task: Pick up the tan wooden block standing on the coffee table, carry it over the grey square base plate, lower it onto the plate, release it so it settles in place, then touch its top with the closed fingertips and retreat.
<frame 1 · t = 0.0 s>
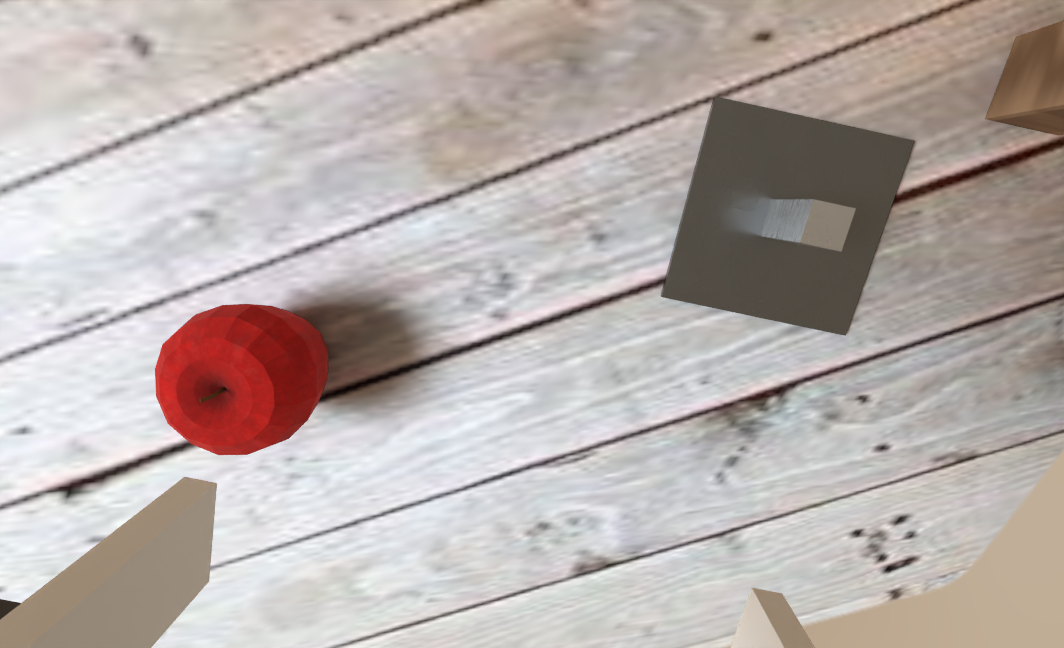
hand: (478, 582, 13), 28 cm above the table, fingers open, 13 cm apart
apple: (291, 349, 41), on the table
grey square base plate: (781, 221, 38), on the table
tan wooden block: (1037, 86, 36), on the table
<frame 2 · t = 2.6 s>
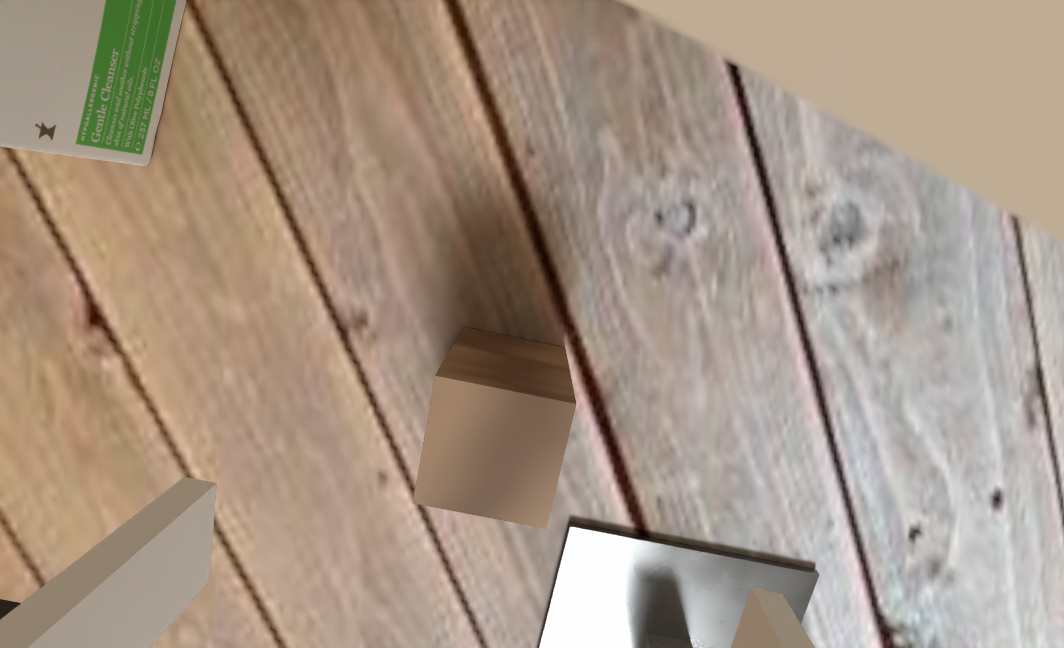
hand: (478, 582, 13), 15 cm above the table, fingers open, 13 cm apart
skincare box: (104, 54, 24), on the table
tan wooden block: (504, 385, 27), on the table
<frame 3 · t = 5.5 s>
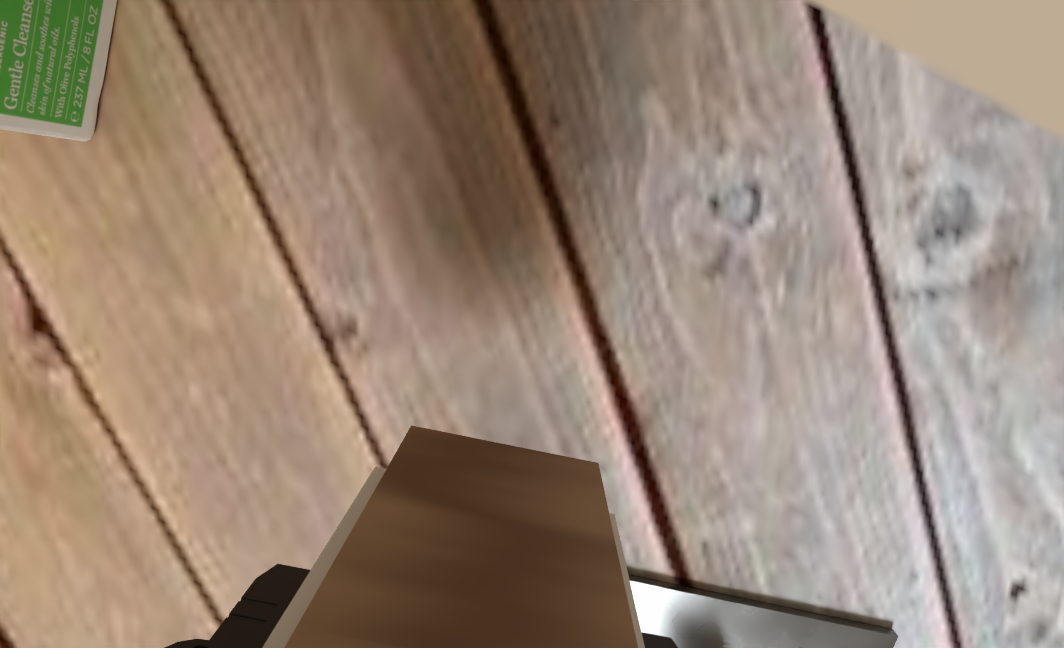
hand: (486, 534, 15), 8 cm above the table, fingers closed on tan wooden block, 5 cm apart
skincare box: (34, 3, 20), on the table
tan wooden block: (487, 526, 15), point 8 cm above the table, touching gripper
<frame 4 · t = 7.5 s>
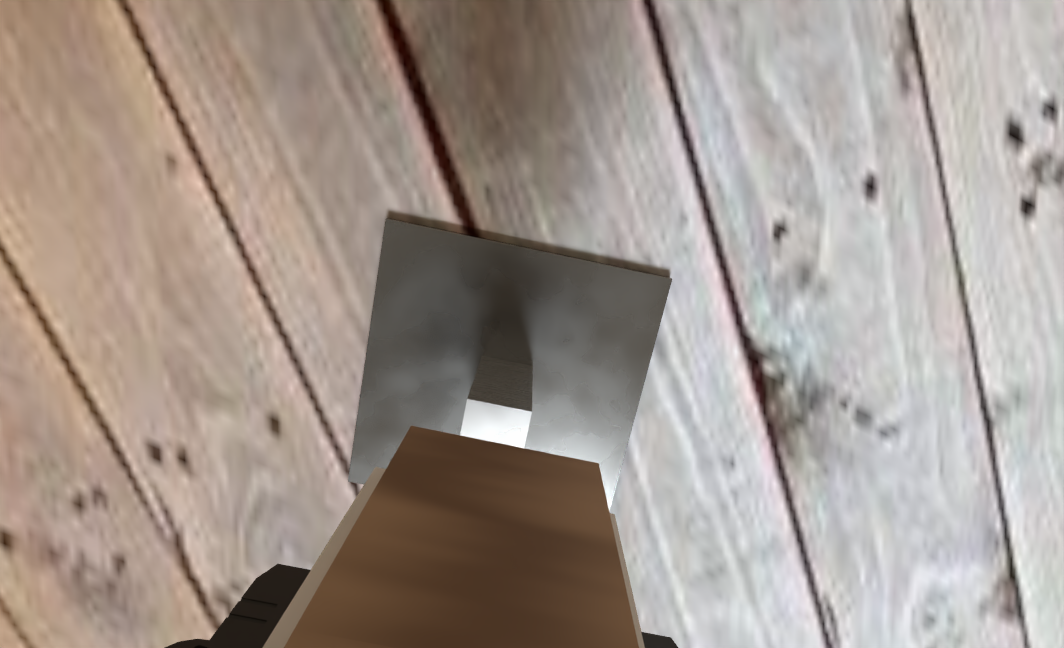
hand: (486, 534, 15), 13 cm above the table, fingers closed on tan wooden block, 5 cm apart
grey square base plate: (502, 382, 27), on the table
tan wooden block: (487, 527, 15), point 13 cm above the table, touching gripper
when the fingers open (1 cm above the table, at t = 9.6 s): tan wooden block stays where it is, resting on grey square base plate.
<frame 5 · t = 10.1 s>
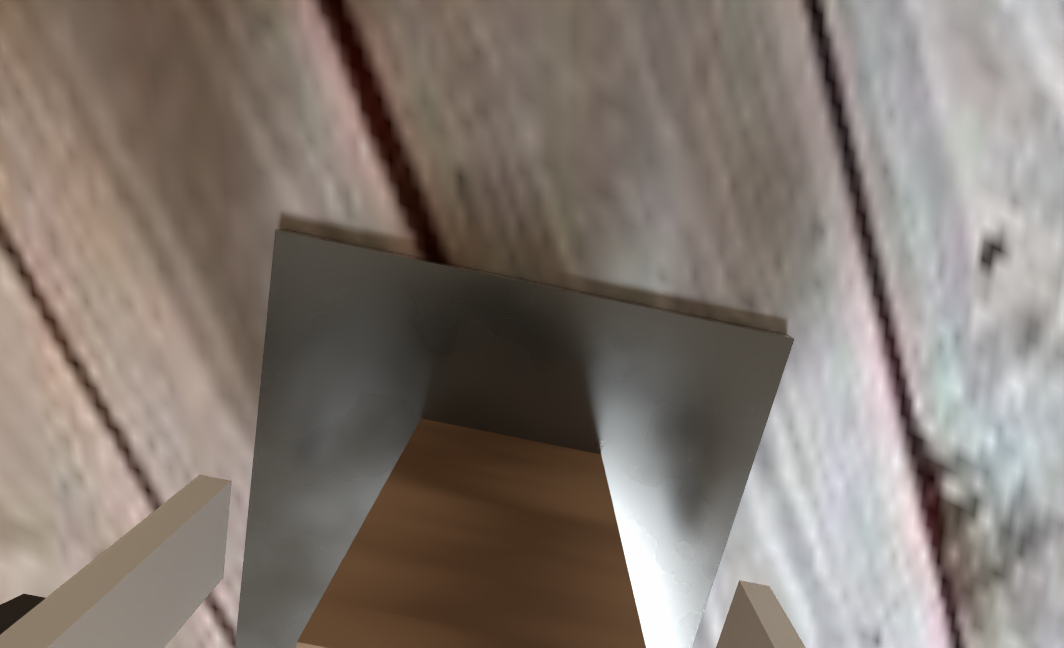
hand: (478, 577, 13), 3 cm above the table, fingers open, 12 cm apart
grey square base plate: (490, 508, 16), on the table
tan wooden block: (494, 516, 16), resting on grey square base plate
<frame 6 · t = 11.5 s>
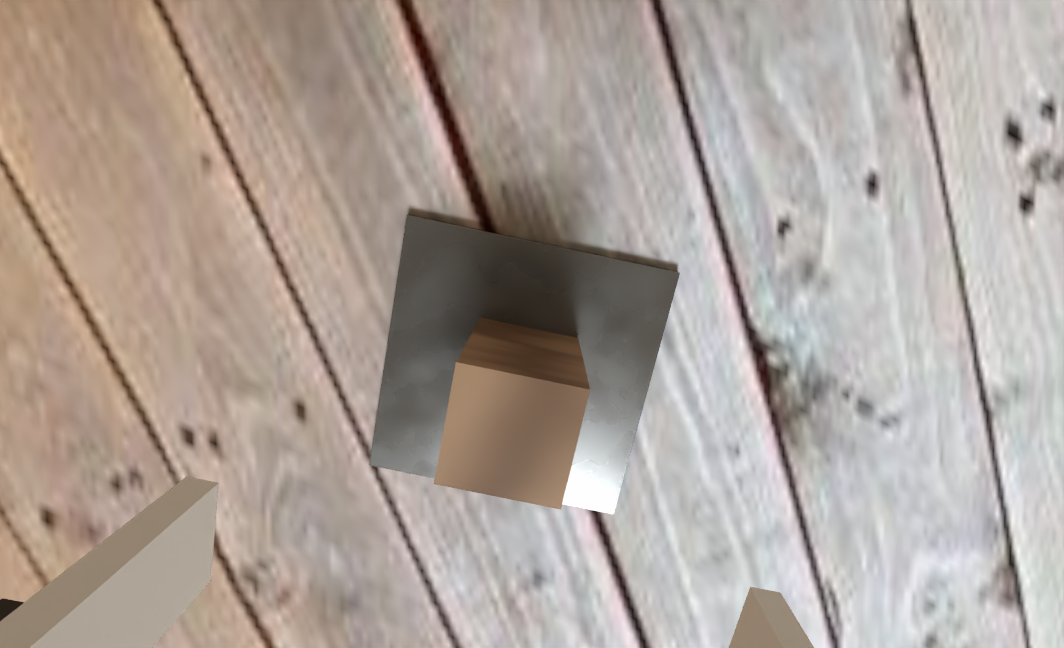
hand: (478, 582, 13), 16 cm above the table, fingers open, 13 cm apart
grey square base plate: (517, 371, 29), on the table
tan wooden block: (519, 374, 28), resting on grey square base plate
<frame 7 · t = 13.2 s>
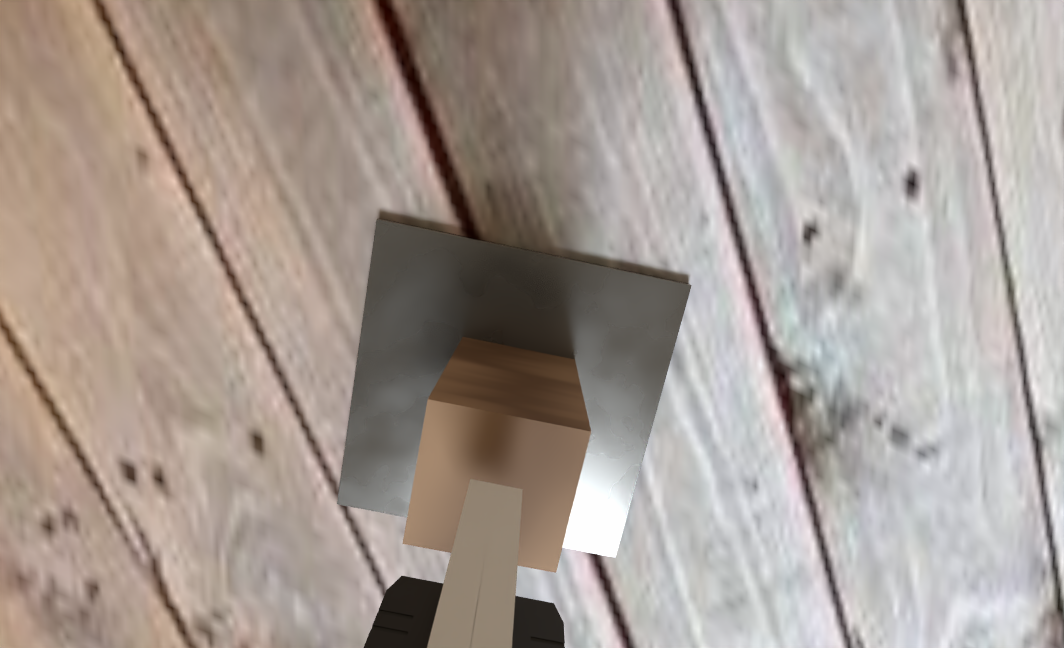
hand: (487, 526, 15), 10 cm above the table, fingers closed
grey square base plate: (505, 397, 25), on the table
tan wooden block: (508, 400, 25), resting on grey square base plate
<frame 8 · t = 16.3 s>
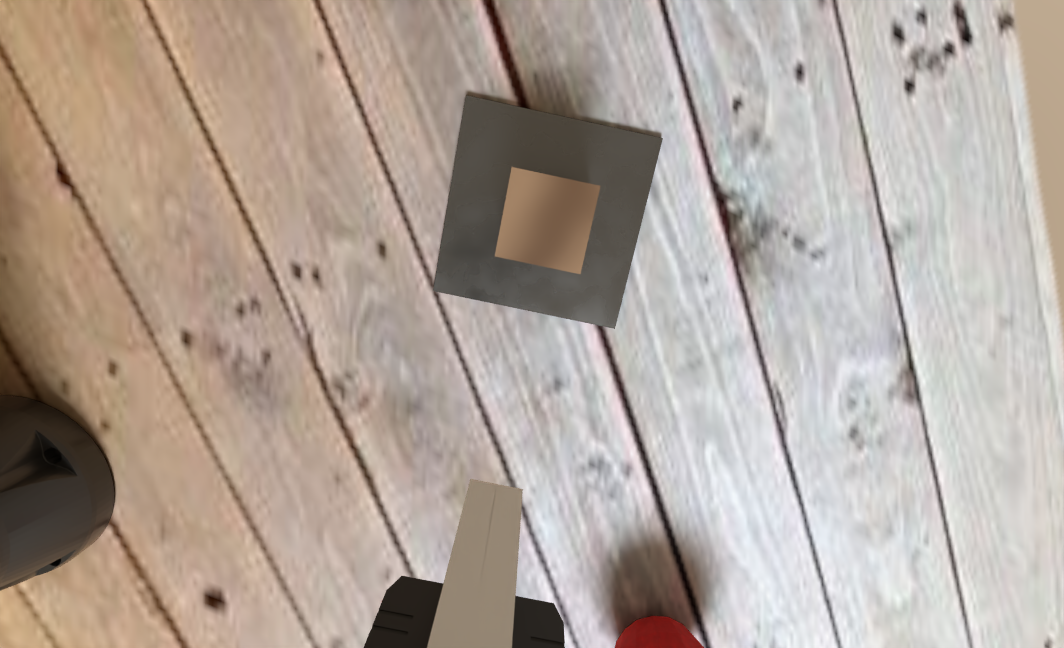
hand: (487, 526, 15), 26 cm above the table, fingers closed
apple: (651, 635, 47), on the table
grey square base plate: (543, 217, 39), on the table
tan wooden block: (545, 217, 39), resting on grey square base plate
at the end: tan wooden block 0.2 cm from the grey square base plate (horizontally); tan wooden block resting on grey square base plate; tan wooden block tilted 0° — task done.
